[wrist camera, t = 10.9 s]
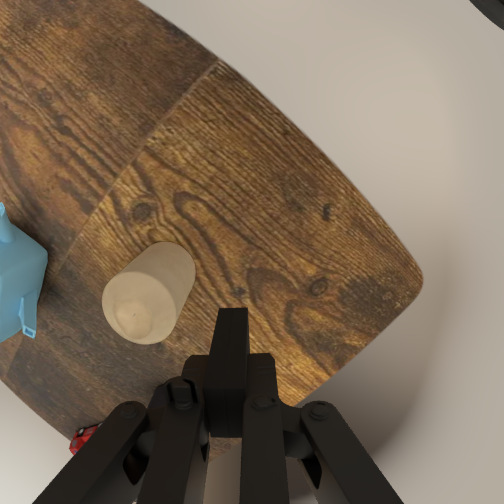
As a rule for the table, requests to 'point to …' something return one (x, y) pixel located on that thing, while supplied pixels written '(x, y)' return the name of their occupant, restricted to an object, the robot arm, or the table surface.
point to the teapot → (19, 279)
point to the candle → (149, 293)
